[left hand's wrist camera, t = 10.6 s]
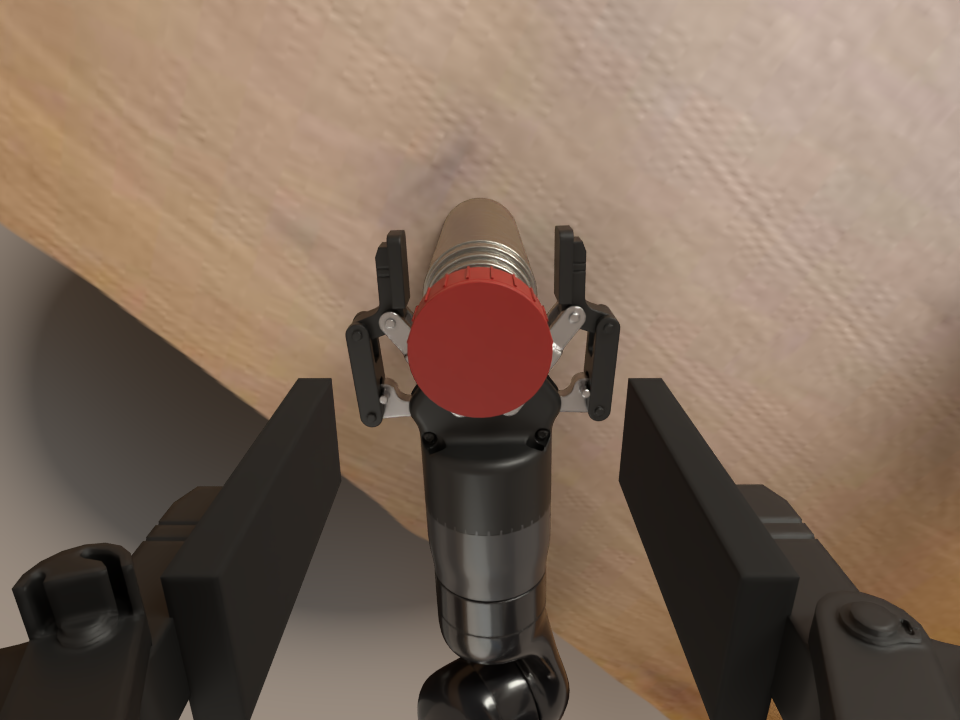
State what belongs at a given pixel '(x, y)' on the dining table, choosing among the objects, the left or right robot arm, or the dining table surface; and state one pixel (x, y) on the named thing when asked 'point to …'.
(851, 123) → the dining table surface
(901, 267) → the dining table surface
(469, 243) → the bottle
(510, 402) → the cap
